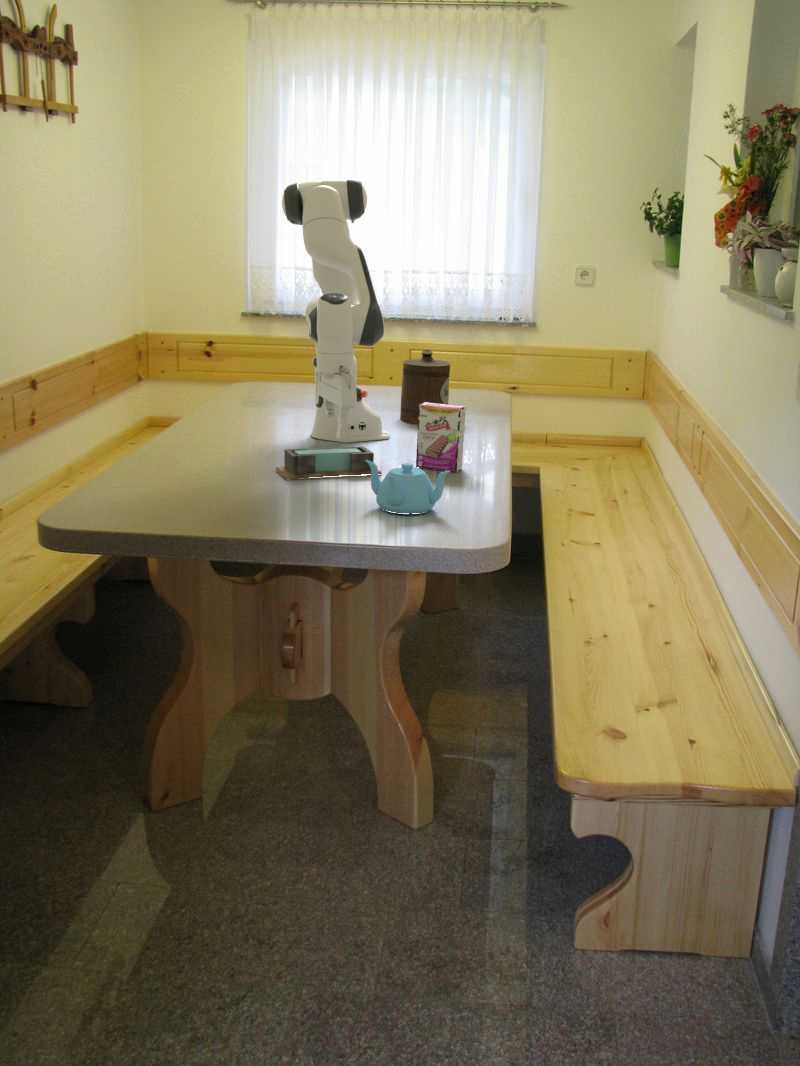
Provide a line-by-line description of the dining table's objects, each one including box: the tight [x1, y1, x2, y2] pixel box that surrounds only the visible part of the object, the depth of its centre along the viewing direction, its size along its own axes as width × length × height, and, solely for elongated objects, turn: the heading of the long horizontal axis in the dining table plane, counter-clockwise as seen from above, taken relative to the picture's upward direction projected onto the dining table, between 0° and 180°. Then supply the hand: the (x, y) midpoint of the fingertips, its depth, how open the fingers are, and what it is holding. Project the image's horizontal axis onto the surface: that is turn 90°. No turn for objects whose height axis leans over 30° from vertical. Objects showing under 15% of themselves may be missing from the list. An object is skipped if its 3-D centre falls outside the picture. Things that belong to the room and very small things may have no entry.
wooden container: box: [399, 349, 451, 425], centre depth 343 cm, size 15×15×22 cm
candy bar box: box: [415, 402, 466, 473], centre depth 279 cm, size 11×5×16 cm, turn 71°
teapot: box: [366, 460, 451, 514], centre depth 241 cm, size 15×15×10 cm
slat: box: [294, 448, 361, 472], centre depth 271 cm, size 16×4×4 cm, turn 110°
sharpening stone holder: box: [276, 445, 382, 480], centre depth 272 cm, size 24×10×6 cm, turn 110°
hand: (336, 420), depth 269 cm, fingers open, 8 cm apart
